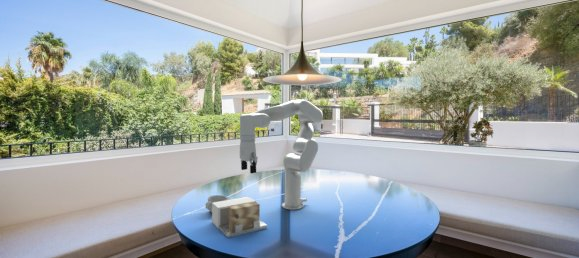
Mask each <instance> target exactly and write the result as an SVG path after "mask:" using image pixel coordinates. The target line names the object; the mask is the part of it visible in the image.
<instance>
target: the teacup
mask: <svg viewBox="0 0 579 258" xmlns="http://www.w3.org/2000/svg"><path fill="white" fill-rule="evenodd" d="M225 200H229V198H228V197H227V196H226V195H219V194H217V195H211V196H208V197H207V202H206V203H205V208H206V210H208V211H210V213H212V203H213V202H219V201H225Z"/></svg>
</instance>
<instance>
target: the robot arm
mask: <svg viewBox="0 0 579 258" xmlns="http://www.w3.org/2000/svg"><path fill="white" fill-rule="evenodd" d="M296 115H297V117H298V121H299V125H300V127H299V128H300V130H299V132H298V134H297V136H296V138H295V140H294V142H293V146H292V149H293V151H294V152H295V153H293V152H291V153H287V154H286V155H285V156H284V158H283V161H282V163H283V170H284V202H282V203H281V207H282V208H283V209H284V210H285V209H286V210H291V211H293V210H295V211H296V210H300V209H303V208H304V204H303V203H305V202H308V199H307V198H306V197H304V198H303V197H301V195H302V194H301V193H302V174H301V173H306V172H308V171H309V170H310V168H311V167H312V164H313V163H314V161H315V159H316V156H317V154H318V150H319V145H318V141H316V139H314V138H313V136H314V132H315V131H314V126H313V124H319V123H321V122H322V121H323V119H324V114H323V111H322V110H321V109H320V108H319V107H317V106H316V105H314V104H313V103H312V102H310V101H308V100H306V99H292V100H290V101H287V102H284V103H281V104H279V105H275V106H270V107H267V108H263V109H260V110H256V111H254V112H251V113H244V114H243V113H242V114H241V115H240V116H239V131H240V132H239V133H240V134H239V136H240V142H239V159H240V164H241V165H240V166H241V167H240V168H241V169H240V170H242V171H244V170H248V162H249V164H250V165H249V173H250V174H256V173H257V165H258V164H257V163H258V158H259V157H258V156H257V147H256V128H268V126H269V125H270V124H271V122H278V121H283V120H285V119H289V118H291V117H293V116H296Z"/></svg>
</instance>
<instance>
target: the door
mask: <svg viewBox="0 0 579 258" xmlns="http://www.w3.org/2000/svg"><path fill="white" fill-rule="evenodd" d="M260 206H261V204H260V203H258V202H257V201H256V202H253V203H247V204H242V205H236V206H231V207H229V229H231V230H232V231H234V230H235V225H236V224H240V223H241V224H242V228H247V227H251V226H253V221H254V220H260V211H261V210H260V209H261V208H260Z"/></svg>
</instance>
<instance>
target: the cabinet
mask: <svg viewBox="0 0 579 258" xmlns="http://www.w3.org/2000/svg"><path fill="white" fill-rule="evenodd" d="M253 202H257V201H256V200H255V199H254V198H252V197H250V196H243V197H239V198H232V199H227V200H225V201H219V202H213V203H212V212H211V222H212V224H213V225H214V226H215V227H216V228H217V229H218V225H222V224H227V223H229V207H231V206H236V205H242V204H247V203H253Z"/></svg>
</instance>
